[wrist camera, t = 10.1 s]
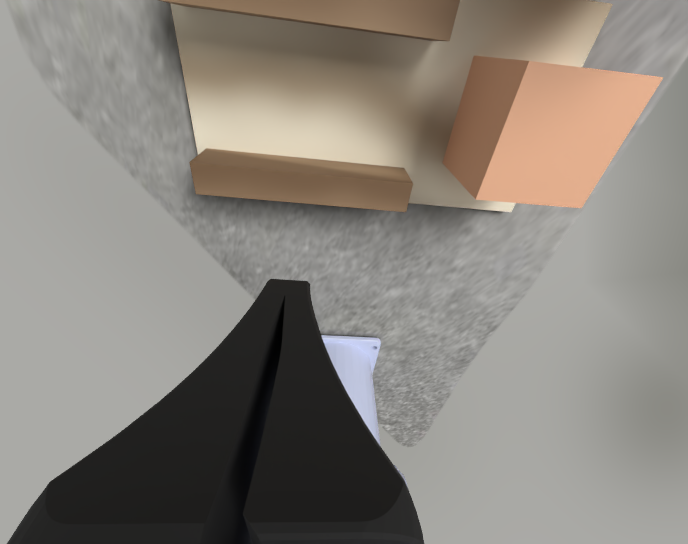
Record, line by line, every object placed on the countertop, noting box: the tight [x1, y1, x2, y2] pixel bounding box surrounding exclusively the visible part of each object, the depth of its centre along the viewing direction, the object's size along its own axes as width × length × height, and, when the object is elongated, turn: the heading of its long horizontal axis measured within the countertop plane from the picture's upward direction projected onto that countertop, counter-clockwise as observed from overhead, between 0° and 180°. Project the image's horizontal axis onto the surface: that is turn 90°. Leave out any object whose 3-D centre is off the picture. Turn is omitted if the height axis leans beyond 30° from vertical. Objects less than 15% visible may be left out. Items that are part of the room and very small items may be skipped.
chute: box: [159, 0, 460, 212], centre depth 14 cm, size 9×11×2 cm
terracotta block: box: [443, 56, 663, 208], centre depth 14 cm, size 5×5×5 cm
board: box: [170, 0, 613, 212], centre depth 15 cm, size 10×19×1 cm, turn 84°
